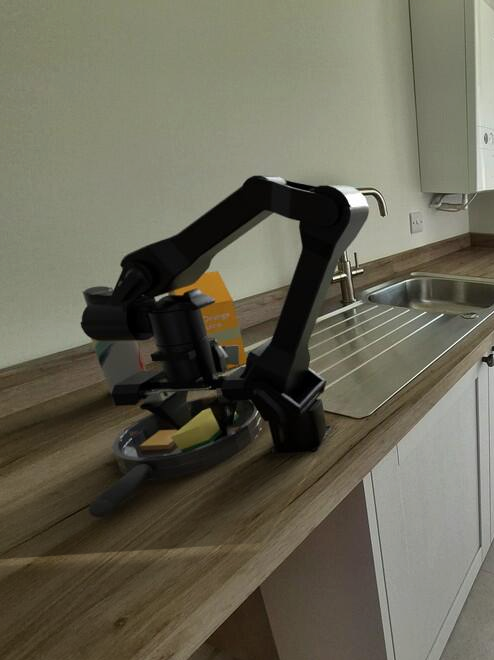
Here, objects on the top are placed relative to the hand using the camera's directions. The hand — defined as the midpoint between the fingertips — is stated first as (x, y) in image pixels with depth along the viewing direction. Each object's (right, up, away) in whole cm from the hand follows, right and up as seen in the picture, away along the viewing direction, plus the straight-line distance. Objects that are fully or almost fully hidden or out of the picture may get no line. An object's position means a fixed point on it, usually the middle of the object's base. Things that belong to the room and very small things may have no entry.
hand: (210, 435), depth 61 cm
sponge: (0, 0, 0) cm, 1 cm away
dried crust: (-7, -1, 0) cm, 7 cm away
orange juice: (-18, +7, +27) cm, 33 cm away
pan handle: (-1, -4, -12) cm, 13 cm away
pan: (-2, -1, 0) cm, 3 cm away
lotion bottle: (-27, +4, +17) cm, 32 cm away
